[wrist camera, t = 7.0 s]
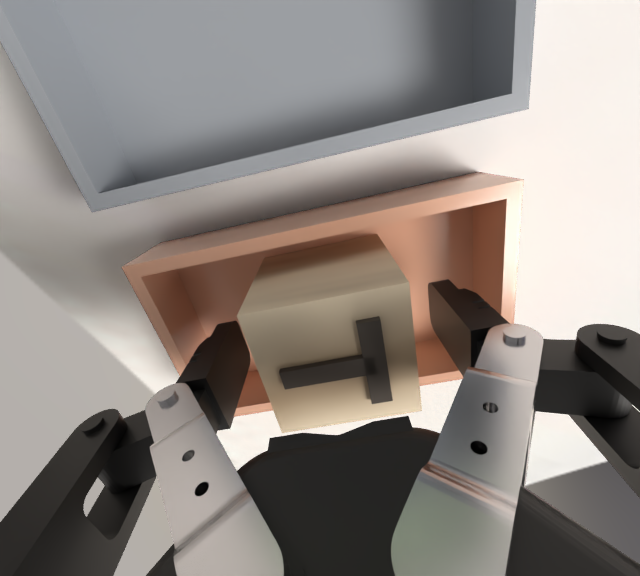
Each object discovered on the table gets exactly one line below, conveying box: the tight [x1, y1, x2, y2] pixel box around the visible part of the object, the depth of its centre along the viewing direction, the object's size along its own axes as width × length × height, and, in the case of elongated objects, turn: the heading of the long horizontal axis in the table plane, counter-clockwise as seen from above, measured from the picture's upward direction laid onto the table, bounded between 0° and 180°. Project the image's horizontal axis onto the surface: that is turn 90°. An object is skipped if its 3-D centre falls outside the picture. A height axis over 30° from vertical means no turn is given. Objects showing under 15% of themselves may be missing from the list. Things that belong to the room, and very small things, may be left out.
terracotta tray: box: [122, 172, 524, 417], centre depth 13 cm, size 8×14×3 cm, turn 102°
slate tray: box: [0, 0, 536, 212], centre depth 9 cm, size 8×14×3 cm, turn 102°
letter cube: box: [237, 234, 422, 433], centre depth 12 cm, size 5×5×5 cm
